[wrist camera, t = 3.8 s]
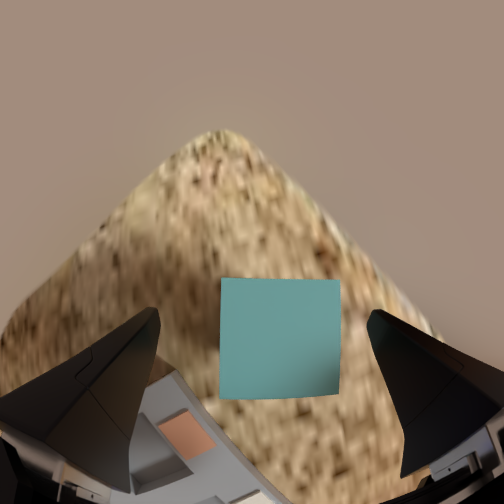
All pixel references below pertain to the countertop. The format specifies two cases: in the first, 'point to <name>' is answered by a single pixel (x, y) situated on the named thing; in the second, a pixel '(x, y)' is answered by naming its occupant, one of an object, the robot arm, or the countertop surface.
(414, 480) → the countertop surface
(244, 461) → the socket board
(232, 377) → the plug
